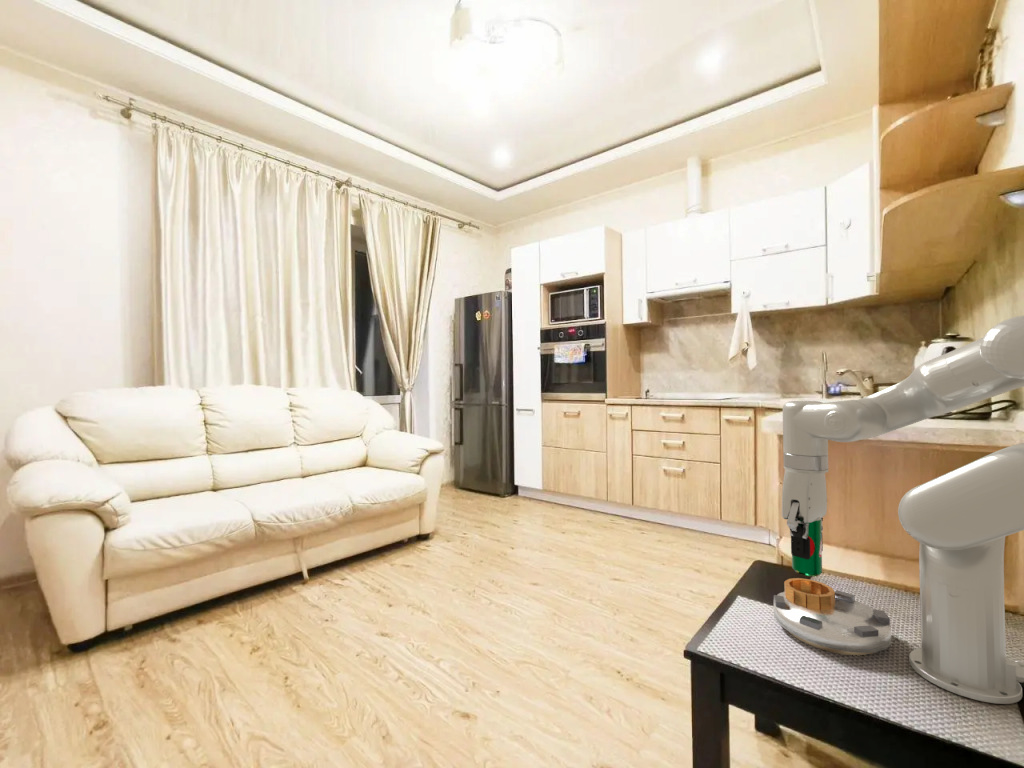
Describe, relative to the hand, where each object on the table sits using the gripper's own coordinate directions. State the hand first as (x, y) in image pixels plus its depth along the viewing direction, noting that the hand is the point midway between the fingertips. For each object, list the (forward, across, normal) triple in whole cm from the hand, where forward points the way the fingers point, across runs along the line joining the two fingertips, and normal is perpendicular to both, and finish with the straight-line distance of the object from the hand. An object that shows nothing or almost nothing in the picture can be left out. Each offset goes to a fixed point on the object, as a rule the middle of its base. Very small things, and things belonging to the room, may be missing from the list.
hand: (807, 552), depth 90 cm
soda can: (+4, 0, 0) cm, 4 cm away
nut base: (+13, +2, +4) cm, 14 cm away
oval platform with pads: (+12, +2, +4) cm, 13 cm away
